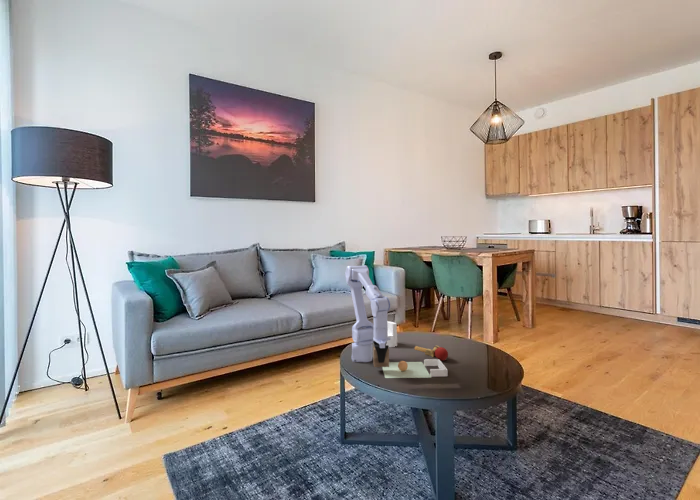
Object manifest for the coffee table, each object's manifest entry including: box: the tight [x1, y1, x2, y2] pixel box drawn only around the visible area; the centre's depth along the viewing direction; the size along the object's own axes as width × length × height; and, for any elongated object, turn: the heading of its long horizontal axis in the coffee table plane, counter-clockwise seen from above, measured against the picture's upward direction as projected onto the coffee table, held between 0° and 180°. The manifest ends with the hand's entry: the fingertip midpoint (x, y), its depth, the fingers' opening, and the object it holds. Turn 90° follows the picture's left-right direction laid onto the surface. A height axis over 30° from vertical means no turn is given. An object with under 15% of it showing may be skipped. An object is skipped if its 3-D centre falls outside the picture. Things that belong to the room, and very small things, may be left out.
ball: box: [398, 360, 408, 371], centre depth 138 cm, size 4×4×4 cm
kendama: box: [414, 345, 449, 362], centre depth 159 cm, size 8×6×18 cm
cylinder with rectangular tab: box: [386, 320, 398, 348], centre depth 178 cm, size 9×9×12 cm
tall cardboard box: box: [372, 346, 390, 368], centre depth 138 cm, size 6×4×7 cm, turn 90°
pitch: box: [381, 358, 449, 379], centre depth 139 cm, size 24×17×4 cm
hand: (380, 360), depth 138 cm, fingers closed on tall cardboard box, 4 cm apart
